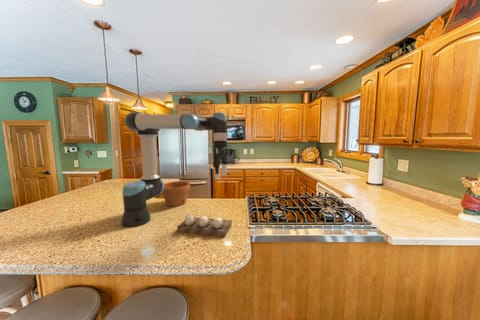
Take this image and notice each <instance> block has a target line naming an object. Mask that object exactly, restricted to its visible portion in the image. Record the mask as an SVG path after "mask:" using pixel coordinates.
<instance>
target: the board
mask: <svg viewBox="0 0 480 320" xmlns="http://www.w3.org/2000/svg"><path fill="white" fill-rule="evenodd" d="M193 217H194V224H193V225H190V226H187V225H185V219H184V220H183V221H182V222H181V223H180V224H178V226H177V225H176V228H177V233H182V234H183V233H184V234H191V235H201V236H210V237H211V236H212V237H219V238H221V237H222V238H225V237H226V236H227V234H228V233H229V231H230V229H231V227H232V220H230V219H222V227H221V228H214V226H213V219H214V218H210V217H209V218H208V217H207V220H208V225H207V226H206V227H200V226H199V217H196V216H193Z"/></svg>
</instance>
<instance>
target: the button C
mask: <svg viewBox="0 0 480 320" xmlns="http://www.w3.org/2000/svg"><path fill="white" fill-rule="evenodd" d="M212 219H213V226H214V228H221V227H222V220H223V218H222V217H220V216H218V217H214V218H212Z"/></svg>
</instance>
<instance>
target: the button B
mask: <svg viewBox="0 0 480 320" xmlns="http://www.w3.org/2000/svg"><path fill="white" fill-rule="evenodd" d="M198 218H199V226H200V227H206V226H207V225H208V220H207V218H208V216H205V215H203V216H200V217H198Z"/></svg>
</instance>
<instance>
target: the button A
mask: <svg viewBox="0 0 480 320" xmlns="http://www.w3.org/2000/svg"><path fill="white" fill-rule="evenodd" d="M194 217H195V216H194V215H192V214H188V215H185V217H184V220H185V225H187V226H190V225H193V224H194Z"/></svg>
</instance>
